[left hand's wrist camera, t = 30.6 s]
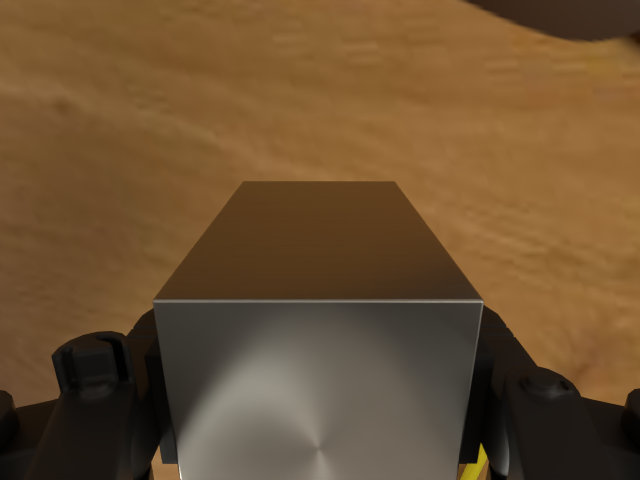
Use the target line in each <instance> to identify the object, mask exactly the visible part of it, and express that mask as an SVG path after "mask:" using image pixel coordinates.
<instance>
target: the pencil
mask: <svg viewBox="0 0 640 480" xmlns="http://www.w3.org/2000/svg"><path fill="white" fill-rule="evenodd" d="M486 459H487V455H486V453H485V451H484V449H483V446H482V444H480V450H479V456H478V462H477V464H467V465H466V467H465V470H464V472H463V474H462V476H461V478H460V480H476V479H477V477H478V475H479V473H480V471H481V469H482V467H483V465H484V463H485V461H486Z"/></svg>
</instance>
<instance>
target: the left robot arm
mask: <svg viewBox="0 0 640 480" xmlns="http://www.w3.org/2000/svg"><path fill="white" fill-rule="evenodd" d="M51 357H52V361H53V365H54V369H55V372H56V376H57V380H58V384H59V388H60V391H61V394H60V396H59V398H58V399H55V400H51V401H47V402H43V403H38V404H33V405H28V406H24V407H19V408H16V407H15V404H14V401H13V398H12V396H11V395H10V394H9V393H7V392H6V391H1V390H0V480H154V477H153V470H152V465H151V461H152V459H153V457H154V455H155V452H156V450H157V448H158V446H160V452H161V458H162V463H163V464H178V463H177V456H176V450H175V443H174V437H173V430H172V424H171V417H170V411H169V404H168V398H167V391H166V385H165V378H164V372H163V365H162V359H161V352H160V346H159V339H158V333H157V327H156V320H155V314H154V308H153V309H151V310H150V311H148V312H147V313H145V314H144V315H142V316H141V318H140V319H139V320H138V322H137V323H136V324H135V326H134V329H132V330H131V331H130V332H129V334H128V335H127V336H125V335H123V334H122V333H118V332H113V331H102V332H94V333H90V334H85V335H82V336H80V337H77V338H75V339H72V340H70V341H68V342H67V343H65V344H64V345H62V346H60V347H59V348H58V349H57V350H56V351H55V352H54V354H53V355H52V356H51ZM480 444H482V446H483V449H484V451H485V453H486V455H487V458H488V460H489V465H488V470H487V476H486V480H640V388H639V389H634V390H633V391H632V392H630V393H629V394H628V397H627V400H626V403H625V406H620V405H616V404H611V403H606V402H601V401H597V400H592V399H588V398H584V397H581V395H580V393H579V391H578V390H577V389H576V387H575V386H574V385H573V383H571V382H570V381H569V380H567V379H566V378H565V377H563V376H562V375H560V374H558V373H556V372H554V371H551V370H549V369H546V368H542V367H538V366H537V365H536V364H535V362H534V361H533V360H532V358H531V357H530V356H529V354H528V353H527V352H526V350H525V349H524V348H523V347H522V345H521V344H520V343H519V341H518V340H517V339H516V337H514V336H513V333H512V332H511V331H510V330H509V328H506V324H505V323H504V322H503V320H502V319H501V318H500V316H499V315H498V314H497V313H495V312H494V311H492V310H491V309H489V308H488V307H486V306H485V305H483V310H482V316H481V323H480V330H479V336H478V343H477V349H476V356H475V362H474V369H473V375H472V382H471V389H470V395H469V402H468V408H467V415H466V421H465V428H464V434H463V441H462V448H461V454H460V461H459V464H477V462H478V456H479V450H480Z"/></svg>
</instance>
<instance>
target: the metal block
mask: <svg viewBox="0 0 640 480" xmlns="http://www.w3.org/2000/svg"><path fill="white" fill-rule="evenodd" d="M483 303H484V301H483V299H482V298H481V296H480V295H479V294H478V292H477V291H476V289H475V288H474V287H473V285H472V284H471V283H470V281H469V280H468V279H467V277H466V276H465V275H464V273H463V272H462V271H461V269H460V268H459V267H458V265H457V264H456V263H455V261H454V260H453V259H452V257H451V256H450V255H449V253H448V252H447V251H446V249H445V248H444V247H443V245H442V244H441V243H440V241H439V240H438V239H437V237H436V236H435V235H434V233H433V232H432V231H431V229H430V228H429V227H428V225H427V224H426V223H425V221H424V220H423V219H422V217H421V216H420V215H419V213H418V212H417V211H416V209H415V208H414V207H413V205H412V204H411V203H410V201H409V200H408V199H407V197H406V196H405V195H404V193H403V192H402V191H401V189H400V188H399V187H398V185H397V184H396V183H395V182H368V181H244V182H243V183H242V184H241V185H240V187H239V188H238V189H237V190H236V192H235V193H234V194H233V196H232V197H231V198H230V200H229V201H228V202H227V204H226V205H225V206H224V207H223V209H222V210H221V211H220V213H219V214H218V215H217V217H216V218H215V219H214V221H213V222H212V223H211V225H210V226H209V227H208V228H207V230H206V231H205V232H204V234H203V235H202V236H201V238H200V239H199V240H198V242H197V243H196V244H195V246H194V247H193V248H192V249H191V251H190V252H189V253H188V255H187V256H186V257H185V259H184V260H183V261H182V263H181V264H180V265H179V267H178V268H177V269H176V270H175V272H174V273H173V274H172V276H171V277H170V278H169V280H168V281H167V282H166V284H165V285H164V286H163V288H162V289H161V290H160V291H159V293H158V294H157V295H156V297H155V298H154V299H153V307H154V314H155V320H156V327H157V333H158V339H159V346H160V352H161V359H162V365H163V372H164V378H165V385H166V391H167V398H168V404H169V411H170V417H171V424H172V430H173V437H174V443H175V450H176V456H177V463H178V469H179V475H180V480H457V474H458V467H459V461H460V454H461V448H462V441H463V434H464V428H465V421H466V415H467V408H468V402H469V395H470V389H471V382H472V375H473V369H474V362H475V356H476V349H477V343H478V336H479V330H480V323H481V316H482V310H483Z"/></svg>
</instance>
